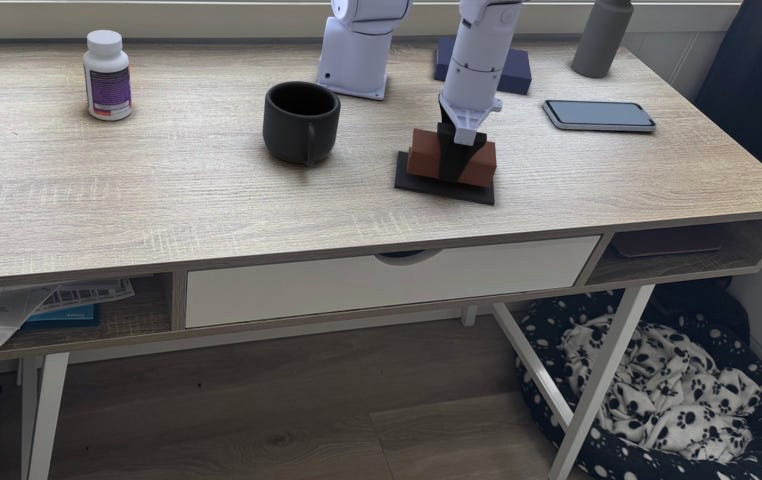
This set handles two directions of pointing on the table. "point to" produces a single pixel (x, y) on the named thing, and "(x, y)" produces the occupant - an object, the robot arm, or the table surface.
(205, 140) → the table surface
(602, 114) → the smartphone
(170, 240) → the table surface
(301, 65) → the table surface
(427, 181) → the rubber mat
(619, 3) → the bottle
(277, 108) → the mug
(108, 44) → the pill bottle
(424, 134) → the block
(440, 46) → the hardcover book
